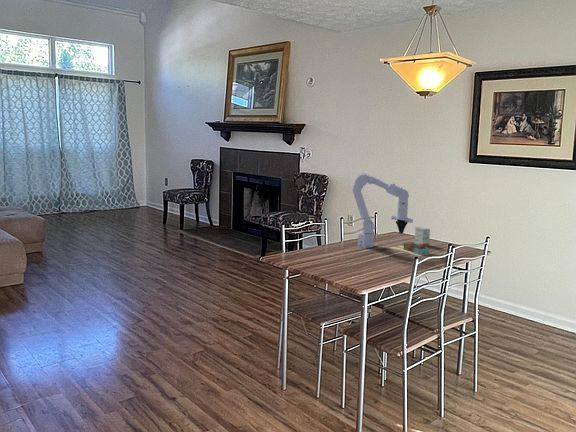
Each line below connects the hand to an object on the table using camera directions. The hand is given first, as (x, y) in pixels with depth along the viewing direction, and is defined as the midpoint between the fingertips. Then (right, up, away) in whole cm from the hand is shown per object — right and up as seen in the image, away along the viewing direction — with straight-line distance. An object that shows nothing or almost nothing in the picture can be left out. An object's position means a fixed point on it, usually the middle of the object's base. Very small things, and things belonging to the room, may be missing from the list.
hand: (401, 233), depth 296 cm
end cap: (+9, -11, -11) cm, 18 cm away
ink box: (+15, -9, +10) cm, 20 cm away
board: (+4, -11, -4) cm, 12 cm away
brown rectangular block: (+6, -10, -7) cm, 14 cm away
